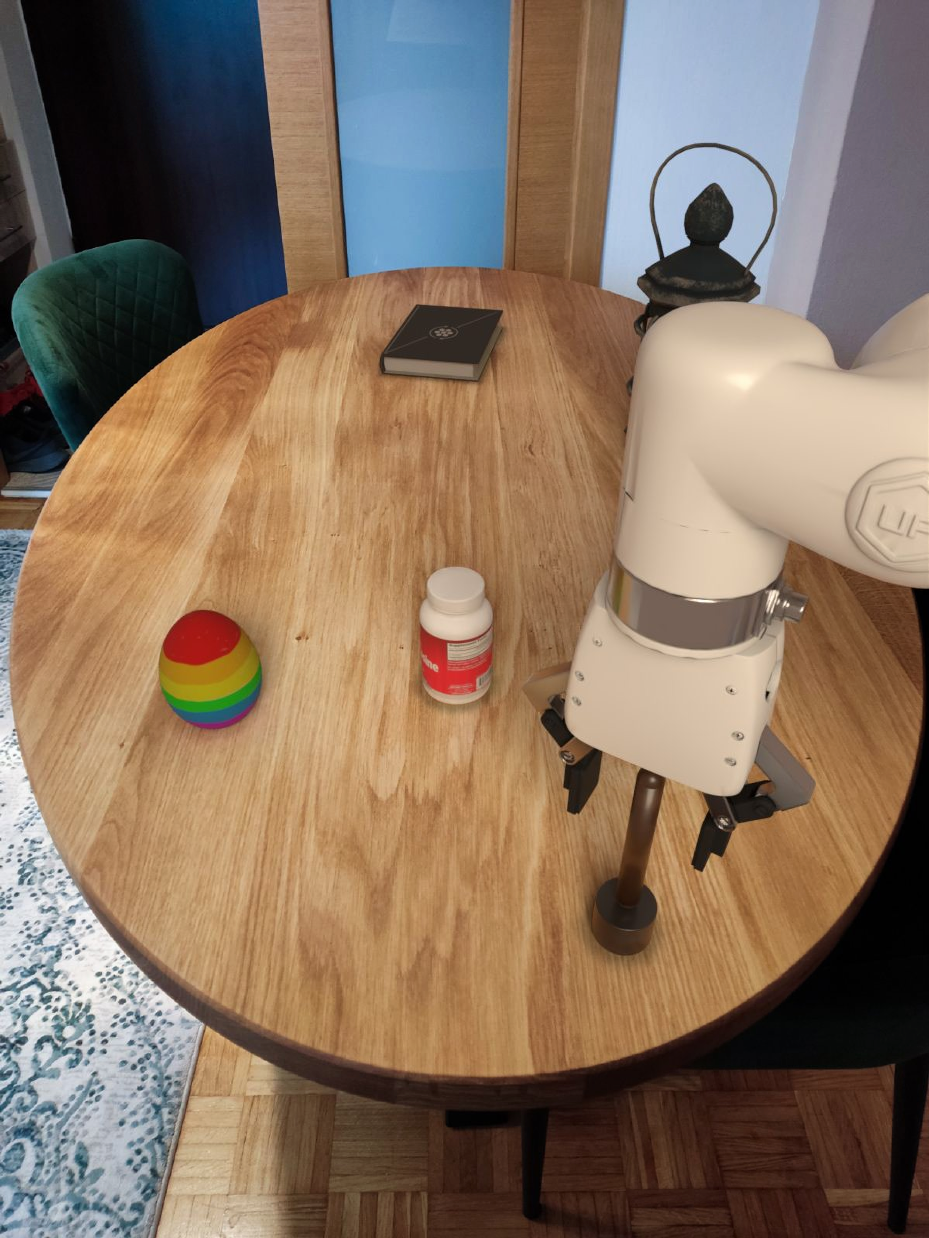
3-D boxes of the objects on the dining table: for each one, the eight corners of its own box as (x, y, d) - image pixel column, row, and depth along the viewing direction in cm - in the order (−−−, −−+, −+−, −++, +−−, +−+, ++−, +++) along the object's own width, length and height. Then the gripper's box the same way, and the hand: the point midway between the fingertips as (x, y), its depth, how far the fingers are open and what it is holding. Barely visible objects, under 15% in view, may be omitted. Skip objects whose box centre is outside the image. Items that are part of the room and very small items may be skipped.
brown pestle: (660, 919, 60) (699, 759, 50) (637, 966, 57) (674, 807, 47) (605, 892, 61) (633, 732, 51) (581, 937, 59) (605, 778, 48)
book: (415, 321, 146) (414, 303, 145) (502, 328, 144) (503, 310, 142) (379, 374, 130) (378, 354, 128) (478, 382, 128) (478, 362, 126)
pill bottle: (418, 663, 80) (413, 564, 73) (484, 656, 81) (486, 557, 74) (426, 711, 75) (422, 610, 68) (497, 703, 76) (500, 602, 69)
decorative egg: (227, 662, 80) (207, 573, 74) (287, 702, 76) (271, 611, 70) (151, 711, 75) (122, 620, 69) (210, 756, 71) (186, 664, 65)
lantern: (745, 445, 112) (812, 138, 91) (702, 487, 104) (764, 161, 82) (644, 416, 119) (684, 123, 97) (596, 454, 111) (628, 143, 89)
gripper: (901, 599, 40) (806, 841, 51) (557, 498, 47) (539, 730, 58) (867, 698, 35) (770, 942, 46) (487, 568, 42) (483, 808, 53)
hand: (642, 822), depth 52 cm, fingers open, 7 cm apart
